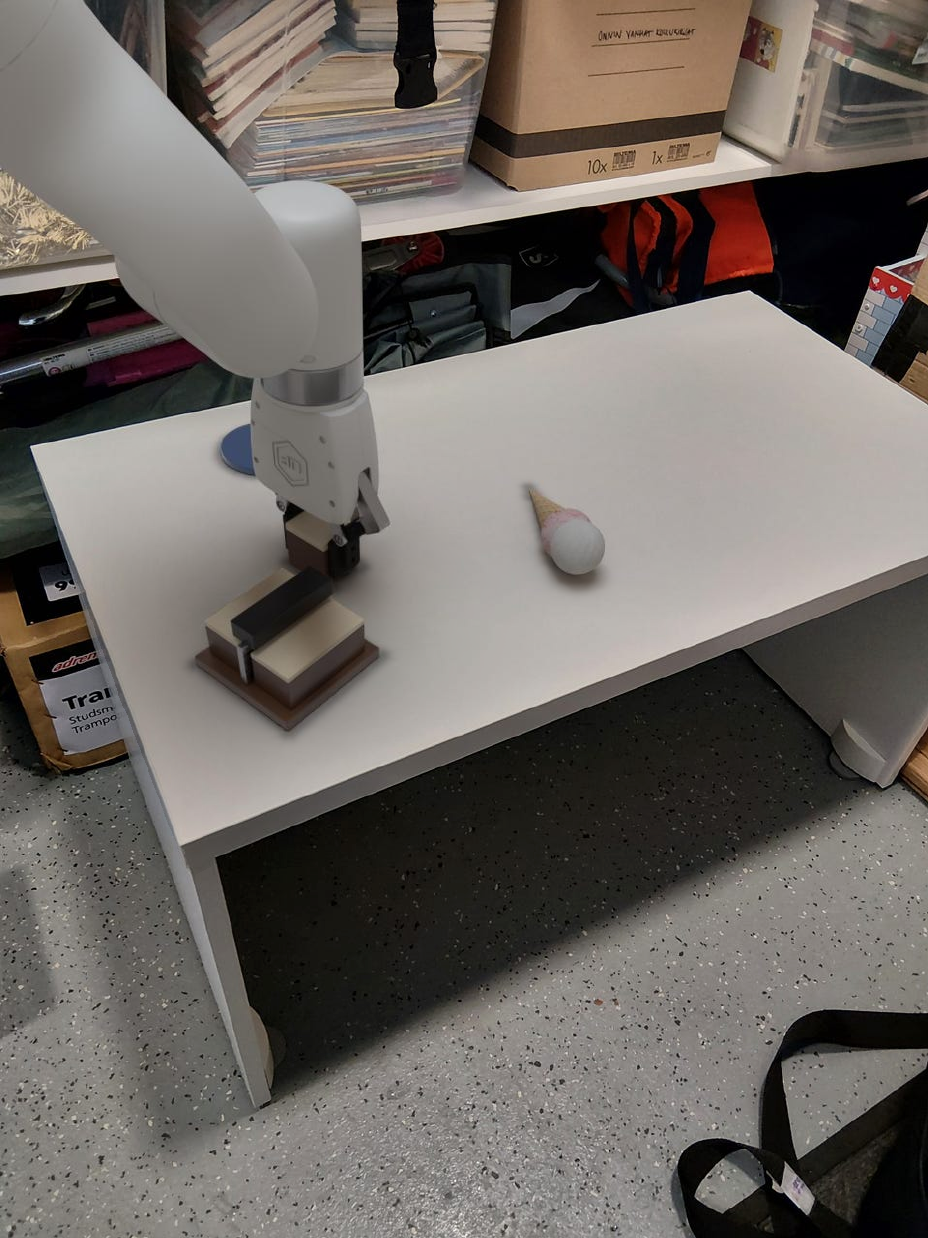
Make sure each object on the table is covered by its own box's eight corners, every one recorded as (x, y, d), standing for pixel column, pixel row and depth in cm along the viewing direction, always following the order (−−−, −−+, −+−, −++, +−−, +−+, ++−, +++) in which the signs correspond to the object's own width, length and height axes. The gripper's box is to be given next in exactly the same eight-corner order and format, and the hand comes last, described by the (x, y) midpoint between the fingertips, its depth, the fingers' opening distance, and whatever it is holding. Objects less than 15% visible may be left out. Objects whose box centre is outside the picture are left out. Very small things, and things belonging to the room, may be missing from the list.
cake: (288, 731, 68) (283, 691, 65) (196, 664, 72) (187, 623, 69) (379, 656, 74) (379, 615, 71) (290, 598, 78) (286, 557, 75)
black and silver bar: (255, 692, 69) (247, 640, 65) (233, 676, 70) (224, 623, 66) (339, 627, 75) (337, 575, 71) (317, 613, 76) (314, 561, 72)
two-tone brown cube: (325, 586, 79) (323, 545, 76) (288, 563, 81) (285, 522, 78) (357, 563, 82) (356, 523, 79) (321, 541, 84) (318, 501, 80)
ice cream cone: (497, 502, 91) (552, 575, 79) (519, 459, 89) (578, 527, 77) (537, 516, 93) (596, 590, 81) (559, 474, 91) (623, 543, 79)
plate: (261, 485, 89) (260, 478, 88) (204, 452, 92) (203, 445, 91) (320, 450, 93) (320, 443, 93) (264, 419, 97) (264, 412, 96)
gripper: (193, 345, 69) (223, 535, 82) (362, 434, 62) (366, 626, 75) (268, 311, 74) (285, 496, 87) (433, 390, 67) (425, 579, 80)
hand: (322, 554), depth 81 cm, fingers closed on two-tone brown cube, 4 cm apart
